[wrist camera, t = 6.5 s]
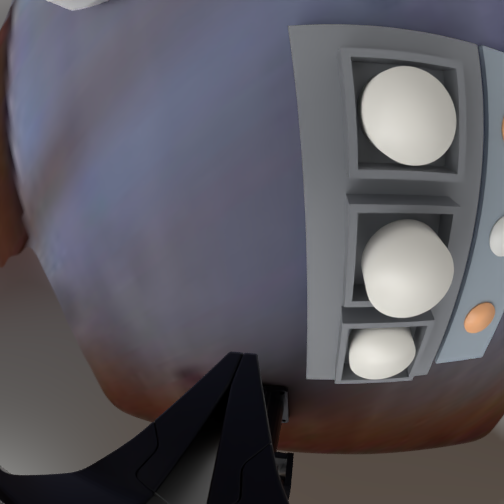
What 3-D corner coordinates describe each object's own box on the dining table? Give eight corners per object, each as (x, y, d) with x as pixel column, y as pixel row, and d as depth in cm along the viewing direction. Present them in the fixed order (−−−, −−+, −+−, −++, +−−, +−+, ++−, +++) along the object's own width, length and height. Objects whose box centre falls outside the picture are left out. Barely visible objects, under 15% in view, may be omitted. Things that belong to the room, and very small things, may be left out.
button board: (422, 356, 21) (430, 389, 17) (307, 360, 23) (304, 395, 20) (461, 48, 10) (492, 41, 7) (291, 35, 12) (284, 16, 9)
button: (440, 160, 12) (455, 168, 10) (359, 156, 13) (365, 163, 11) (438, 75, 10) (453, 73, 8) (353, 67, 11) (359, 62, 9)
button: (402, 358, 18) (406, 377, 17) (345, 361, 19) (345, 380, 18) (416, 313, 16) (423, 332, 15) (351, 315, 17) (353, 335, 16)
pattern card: (480, 353, 19) (482, 358, 19) (434, 359, 20) (436, 365, 20) (533, 66, 8) (539, 67, 8) (478, 46, 9) (483, 44, 9)
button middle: (432, 294, 14) (441, 315, 12) (358, 296, 15) (361, 318, 13) (447, 219, 12) (462, 235, 10) (363, 218, 13) (370, 235, 11)
